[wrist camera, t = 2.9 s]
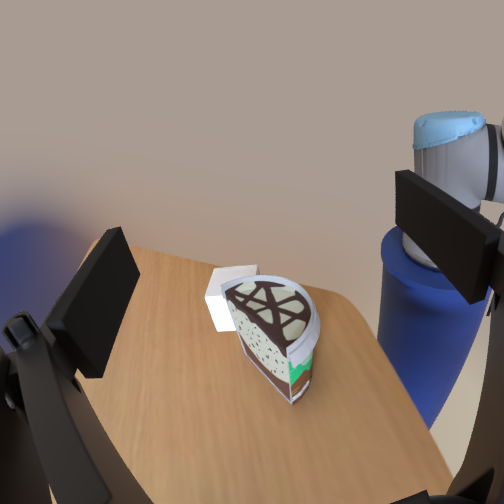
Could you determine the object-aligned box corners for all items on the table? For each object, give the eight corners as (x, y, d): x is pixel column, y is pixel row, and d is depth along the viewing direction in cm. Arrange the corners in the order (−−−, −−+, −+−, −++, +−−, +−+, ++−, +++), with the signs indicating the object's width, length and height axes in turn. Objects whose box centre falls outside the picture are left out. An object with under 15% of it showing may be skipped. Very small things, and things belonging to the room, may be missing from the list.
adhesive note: (224, 302, 45) (214, 268, 42) (265, 299, 44) (257, 263, 41) (217, 331, 40) (204, 296, 37) (262, 329, 39) (253, 292, 36)
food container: (347, 380, 29) (349, 311, 25) (301, 414, 27) (290, 352, 22) (280, 323, 39) (267, 257, 34) (239, 347, 37) (217, 282, 32)
